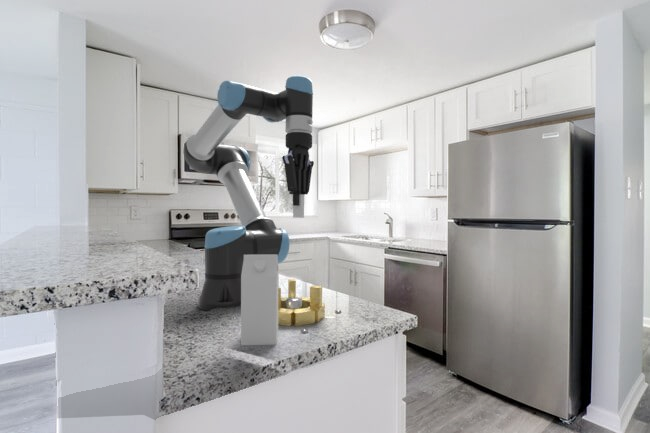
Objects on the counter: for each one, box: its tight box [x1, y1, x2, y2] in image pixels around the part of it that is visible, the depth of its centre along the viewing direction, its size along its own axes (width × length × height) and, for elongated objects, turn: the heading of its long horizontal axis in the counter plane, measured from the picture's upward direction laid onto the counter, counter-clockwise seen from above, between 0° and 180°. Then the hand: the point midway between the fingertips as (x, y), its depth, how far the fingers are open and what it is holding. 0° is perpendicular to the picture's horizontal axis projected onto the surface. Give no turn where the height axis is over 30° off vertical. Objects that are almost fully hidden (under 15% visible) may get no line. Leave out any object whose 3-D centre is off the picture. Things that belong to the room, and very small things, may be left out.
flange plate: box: [286, 296, 342, 334], centre depth 88 cm, size 20×20×6 cm
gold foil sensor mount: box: [278, 278, 326, 327], centre depth 88 cm, size 15×15×8 cm
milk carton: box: [240, 255, 279, 346], centre depth 72 cm, size 7×7×19 cm
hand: (298, 217), depth 97 cm, fingers closed
